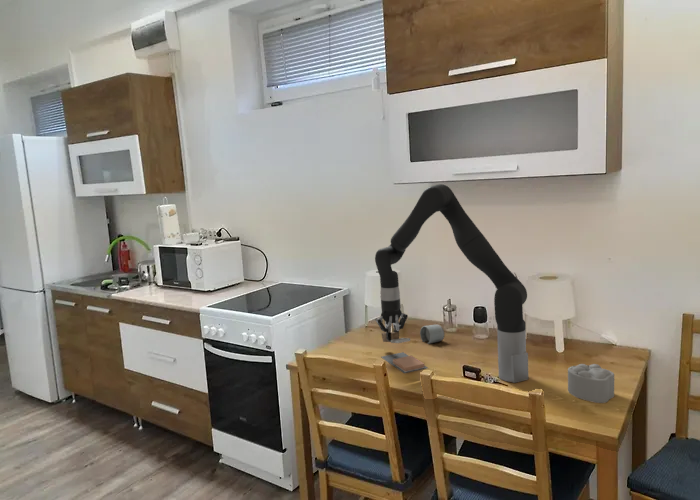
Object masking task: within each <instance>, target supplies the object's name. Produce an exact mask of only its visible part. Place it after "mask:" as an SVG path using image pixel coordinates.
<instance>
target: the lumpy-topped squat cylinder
mask: <svg viewBox="0 0 700 500" xmlns="http://www.w3.org/2000/svg"><path fill="white" fill-rule="evenodd" d="M567 391H568V393H569V394H571V396H572V397H575V398H577V399H581V400H582V401H583V400H584V401H587V402H592V403H596V404H606V403H607V402H609V400H611V399H612V398H614V397H615V373H614V372H613V371H611V370H608V369H606V368H603V367H601V366H600V365H599V364H598V363H592V364H589V365H587V364H585V363H580V364H577V365H572V366H570V367H568V368H567Z"/></svg>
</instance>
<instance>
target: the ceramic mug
mask: <svg viewBox="0 0 700 500" xmlns="http://www.w3.org/2000/svg"><path fill="white" fill-rule="evenodd" d="M419 336H420V339H421V341H422V343H423V342H427V345H429V344H430V345H431V344H434V343H438V342H441V341H443V340H444V338H445V330H444V328H443V326H442V325H441V324H430V325H423V326H422V327H421V328H420V330H419Z"/></svg>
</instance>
